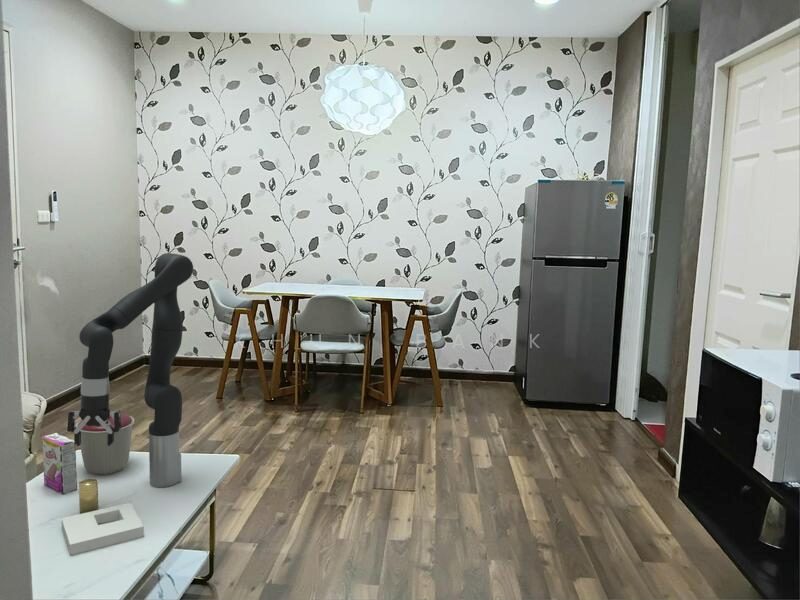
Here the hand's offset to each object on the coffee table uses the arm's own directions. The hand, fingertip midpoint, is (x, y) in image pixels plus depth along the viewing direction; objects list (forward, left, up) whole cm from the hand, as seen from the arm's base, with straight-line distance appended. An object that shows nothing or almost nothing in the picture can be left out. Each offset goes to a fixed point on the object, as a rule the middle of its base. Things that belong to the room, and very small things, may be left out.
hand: (94, 445), depth 183 cm
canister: (-8, -26, -19) cm, 33 cm away
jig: (+1, +18, -19) cm, 26 cm away
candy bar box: (+7, -18, -19) cm, 27 cm away
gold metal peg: (+2, +3, -19) cm, 19 cm away
